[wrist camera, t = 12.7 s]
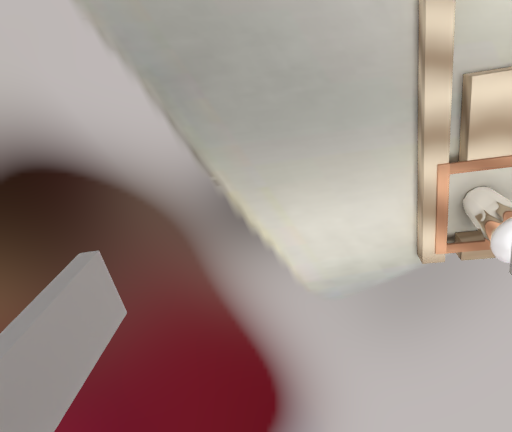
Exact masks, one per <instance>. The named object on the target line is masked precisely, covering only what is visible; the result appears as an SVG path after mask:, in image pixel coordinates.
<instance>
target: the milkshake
mask: <svg viewBox="0 0 512 432" xmlns="http://www.w3.org/2000/svg"><path fill="white" fill-rule="evenodd" d="M463 207H464V211H465V212H466V214H467V215H468V217H469V218H470V219H471V221H472V222H473V224H474V225H475V227H476V228H477V229H478V231H479V232H480V234H481V235H482V236H483V238H484V239H485V241H486V243H487V244H488V246H489V247H490V249H491V251H492V252H493V254H494V255H495V257H496V258H497V259H499V260H500V261H502V262H506V263H510V258H511V246H512V201H510V200H509V199H507V198H505V197H504V196H502V195H501V194H499V193H498V192H496V191H494V190H493V189H491V188H490V187H476V188H475V189H473V190H471V191H469V192H468V193H467V195H466V196H465V198H464V200H463Z"/></svg>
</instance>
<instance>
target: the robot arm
mask: <svg viewBox="0 0 512 432" xmlns="http://www.w3.org/2000/svg"><path fill="white" fill-rule="evenodd" d="M509 272H510V274H511V275H512V246H511V258H510V271H509ZM126 313H127V312H126V309H125V307H124V305H123V303H122V300H121V298H120V296H119V294H118V292H117V289H116V287H115V285H114V283H113V281H112V279H111V276H110V274H109V272H108V270H107V268H106V265H105V263H104V261H103V259H102V257H101V254H100V252H99V251H94V252H86V253H79V255H77V256H76V257H75V258H74V259H73V260H72V262H71V263H69V264H68V266H67V267H66V268H65V269H64V270H63V271H62V272H61V273H60V274H59V275H58V276H57V277H56V278H55V279H54V280H53V281H52V282H51V283H50V284H49V285H48V286H47V287H46V288H45V289H44V290H43V291H42V292H41V293H40V294H39V295H38V296H37V297H36V298H35V299H34V300H33V301H32V302H31V303H30V304H29V305H28V306H27V307H26V308H25V309H24V310H23V311H22V312H21V313H20V314H19V315H18V316H17V317H16V318H15V319H14V320H13V322H11V323H10V324H9V326H7V328H6V329H5V330H4V331H3V332H2V333H1V334H0V432H54V431H55V429H56V428H57V426H58V424H59V423H60V421H61V419H62V418H63V416H64V414H65V413H66V411H67V410H68V408H69V406H70V405H71V403H72V402H73V400H74V398H75V397H76V395H77V393H78V391H79V390H80V388H81V387H82V385H83V384H84V382H85V380H86V378H87V377H88V375H89V374H90V372H91V370H92V369H93V367H94V365H95V364H96V362H97V361H98V359H99V357H100V356H101V354H102V353H103V351H104V349H105V348H106V346H107V344H108V343H109V341H110V340H111V338H112V336H113V335H114V333H115V331H116V330H117V328H118V326H119V325H120V323H121V322H122V320H123V318H124V317H125V315H126Z"/></svg>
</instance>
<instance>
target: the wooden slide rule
mask: <svg viewBox="0 0 512 432" xmlns="http://www.w3.org/2000/svg"><path fill="white" fill-rule="evenodd" d="M454 25H455V0H419V52H418V222H417V254H418V256H419V258H420V260H421V262H422V263H423V264H425V263H437V262H445V254H446V253H456V254H457V255H458V257H459V258H460V259H461V260H473V259H485V258H495V255H494V254H493V252H492V251H491V249H490V247H489V246H488V244H487V243H486V241H485V239H484V238H483V236H482V235H481V234H480V232H479V231H469V232H458V233H455V243H447V224H448V200H449V176H450V174H456V173H464V172H472V171H481V170H489V169H497V168H506V167H512V67H505V68H499V69H493V70H487V71H480V72H474V73H468V74H463V90H462V109H461V129H460V148H459V162H453V163H449V147H450V123H451V98H452V74H453V49H454Z"/></svg>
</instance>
